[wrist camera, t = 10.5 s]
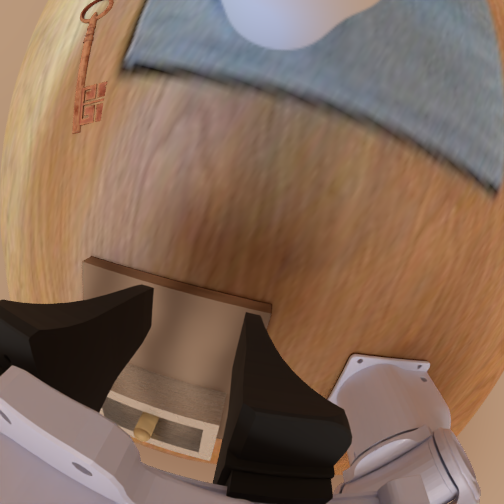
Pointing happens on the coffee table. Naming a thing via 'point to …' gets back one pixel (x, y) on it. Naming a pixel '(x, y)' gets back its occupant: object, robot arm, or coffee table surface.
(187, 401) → the cream hollow block
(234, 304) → the board
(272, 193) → the coffee table surface
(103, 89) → the key
